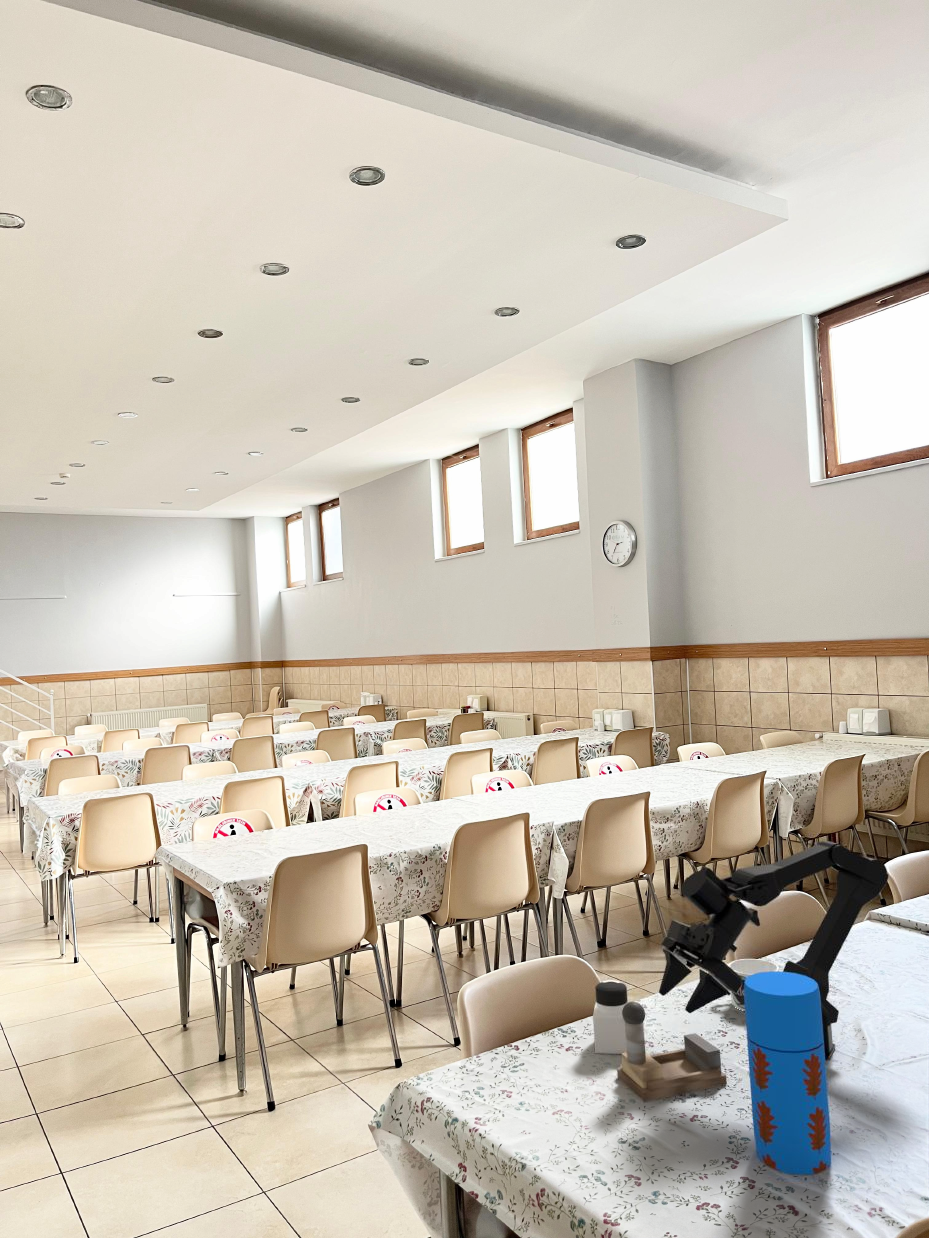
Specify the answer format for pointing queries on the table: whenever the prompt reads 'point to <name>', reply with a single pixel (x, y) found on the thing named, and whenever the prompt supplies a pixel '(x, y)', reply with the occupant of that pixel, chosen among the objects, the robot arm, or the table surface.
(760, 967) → the mug
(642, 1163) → the table surface
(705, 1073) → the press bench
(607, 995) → the medicine bottle
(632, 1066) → the press handle
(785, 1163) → the thermos
